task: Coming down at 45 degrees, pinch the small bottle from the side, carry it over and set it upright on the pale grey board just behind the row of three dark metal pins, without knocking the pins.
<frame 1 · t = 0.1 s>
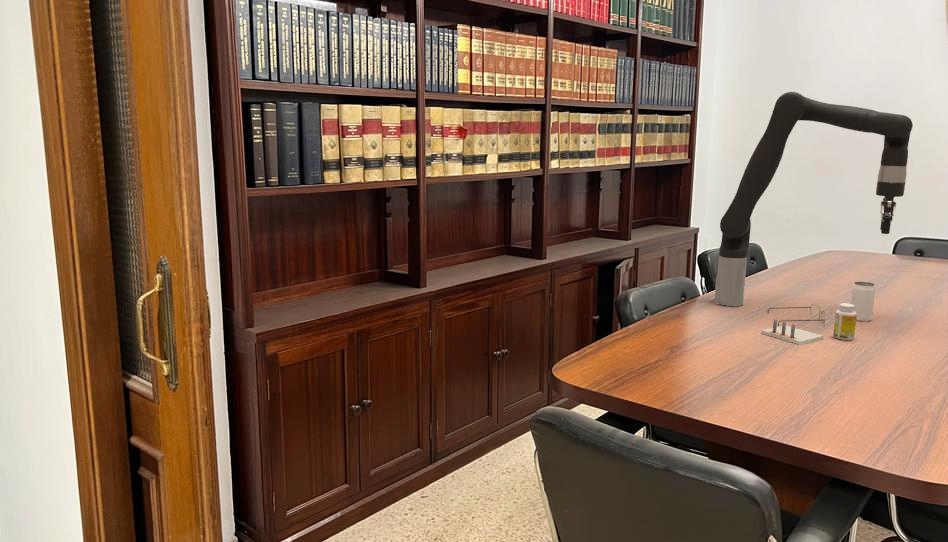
hand: (884, 232, 217), 29 cm above the table, tool pointing down, fingers open, 8 cm apart
can: (860, 319, 225), on the table
eyeglasses: (796, 322, 224), on the table
supplement bottle: (843, 338, 205), on the table
header board: (794, 335, 207), on the table
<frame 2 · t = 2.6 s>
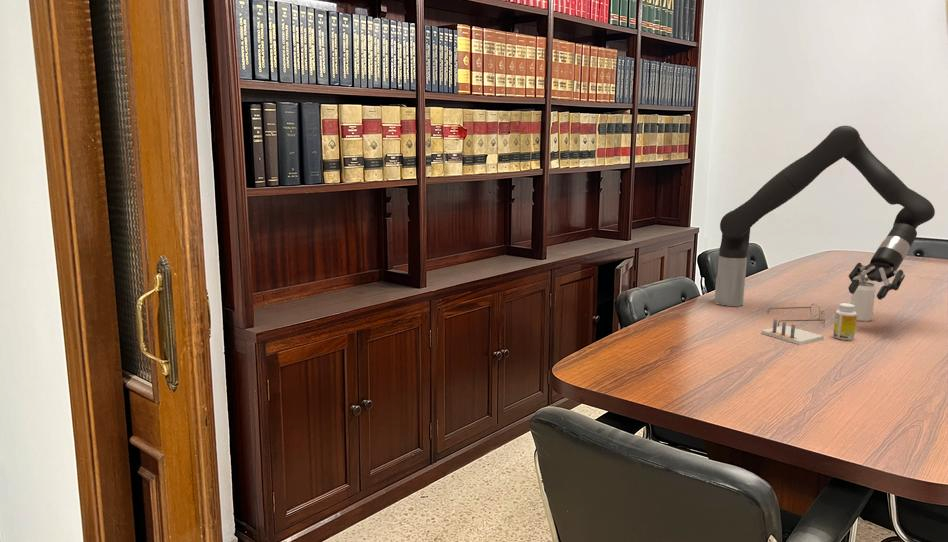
hand: (864, 295, 207), 12 cm above the table, tool tilted 45°, fingers open, 8 cm apart
nothing on the table moved.
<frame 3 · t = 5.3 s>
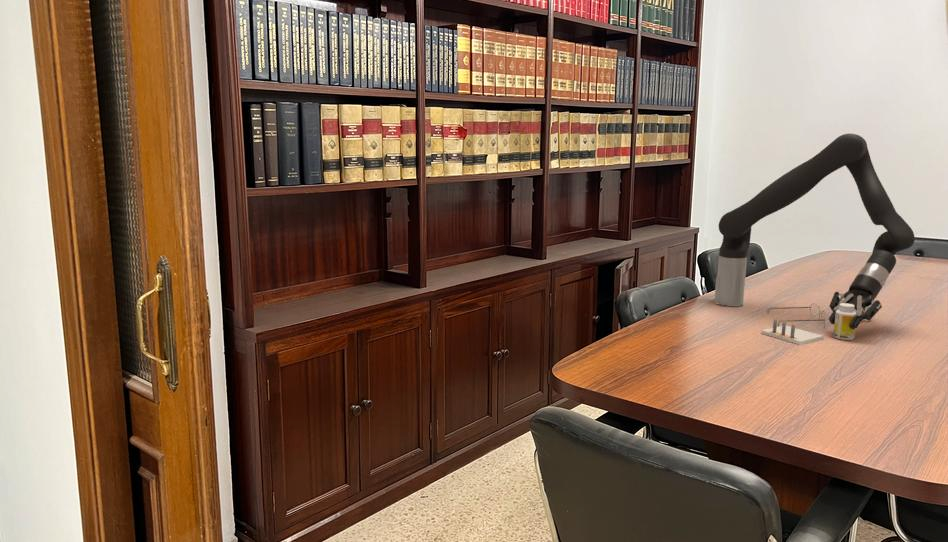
hand: (841, 325, 203), 4 cm above the table, tool tilted 45°, fingers closed on supplement bottle, 5 cm apart
supplement bottle: (843, 338, 205), on the table, touching gripper
everything else where it was.
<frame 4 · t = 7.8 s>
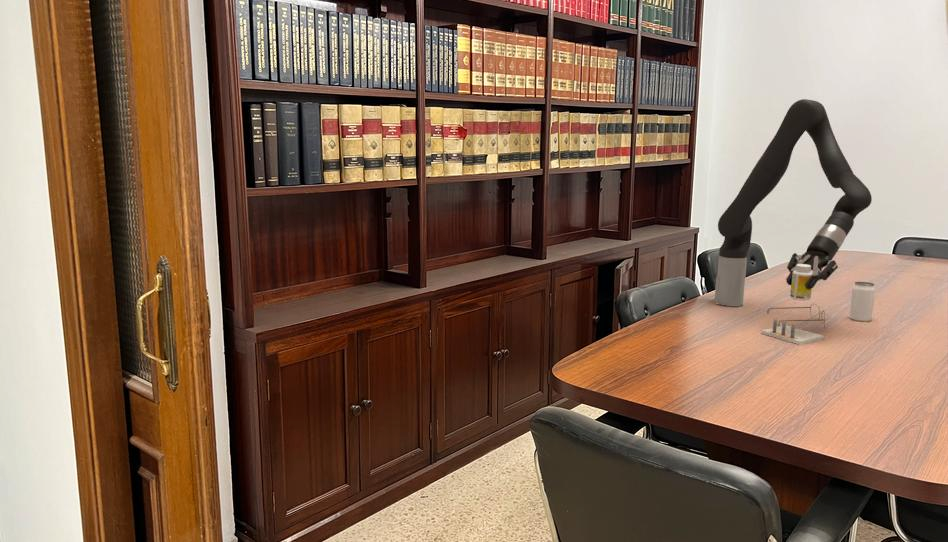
hand: (797, 285, 203), 16 cm above the table, tool tilted 45°, fingers closed on supplement bottle, 5 cm apart
supplement bottle: (800, 299, 205), point 11 cm above the table, touching gripper
everything else where it was.
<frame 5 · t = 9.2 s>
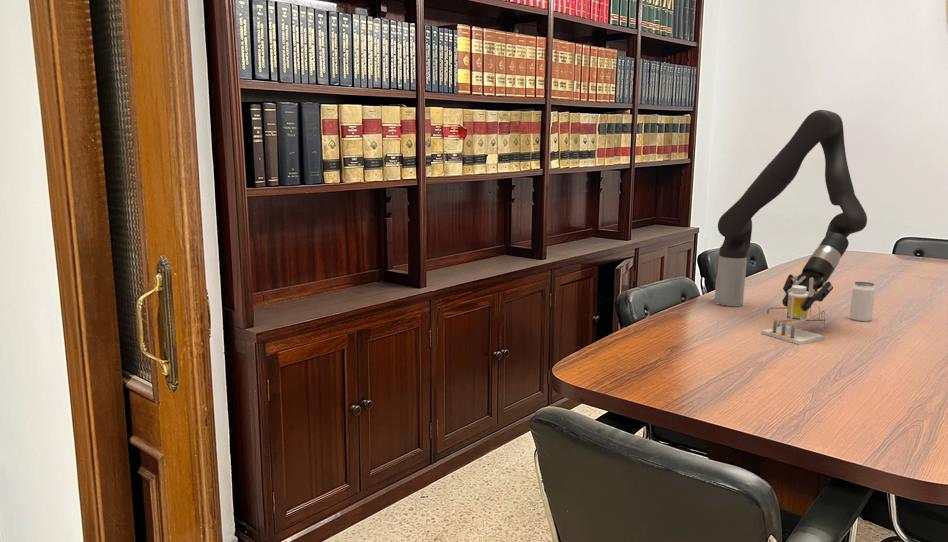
hand: (793, 307, 204), 9 cm above the table, tool tilted 45°, fingers closed on supplement bottle, 5 cm apart
supplement bottle: (796, 320, 206), point 5 cm above the table, touching gripper
everything else where it was.
when the fingers open (6 cm above the table, at t = 10.2 s): supplement bottle drops 1 cm, resting on header board.
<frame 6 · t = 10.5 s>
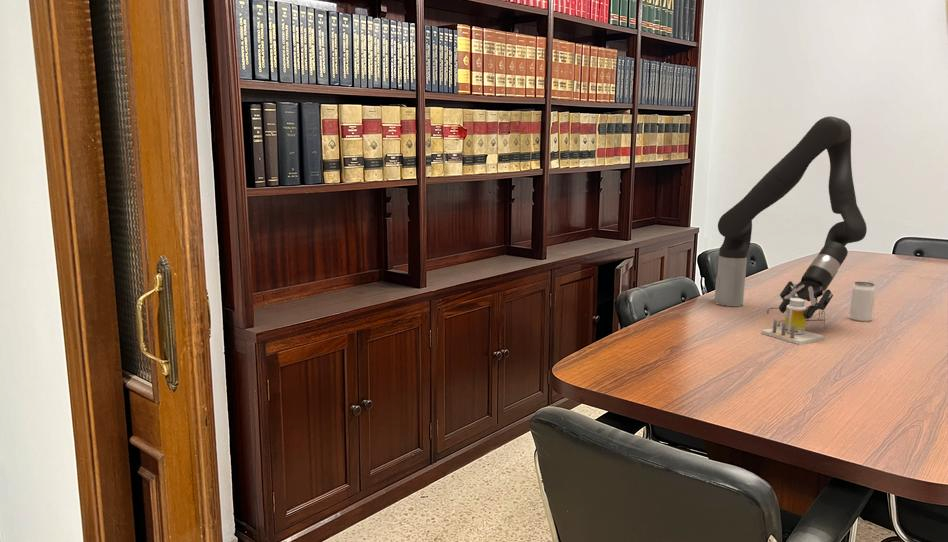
hand: (793, 314, 205), 7 cm above the table, tool tilted 45°, fingers open, 7 cm apart
supplement bottle: (794, 333, 207), point 1 cm above the table, touching header board
everything else where it was.
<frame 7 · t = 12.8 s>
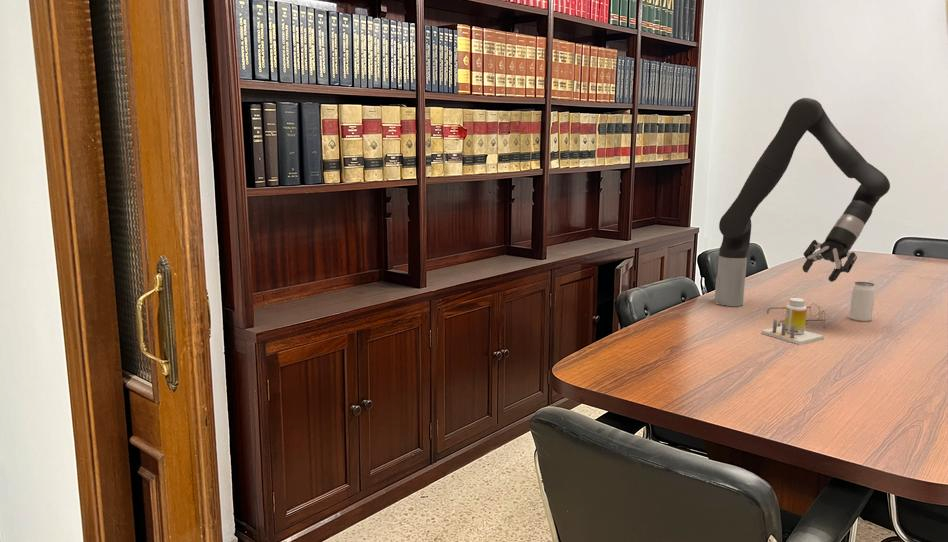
hand: (817, 275, 211), 17 cm above the table, tool tilted 35°, fingers open, 8 cm apart
nothing on the table moved.
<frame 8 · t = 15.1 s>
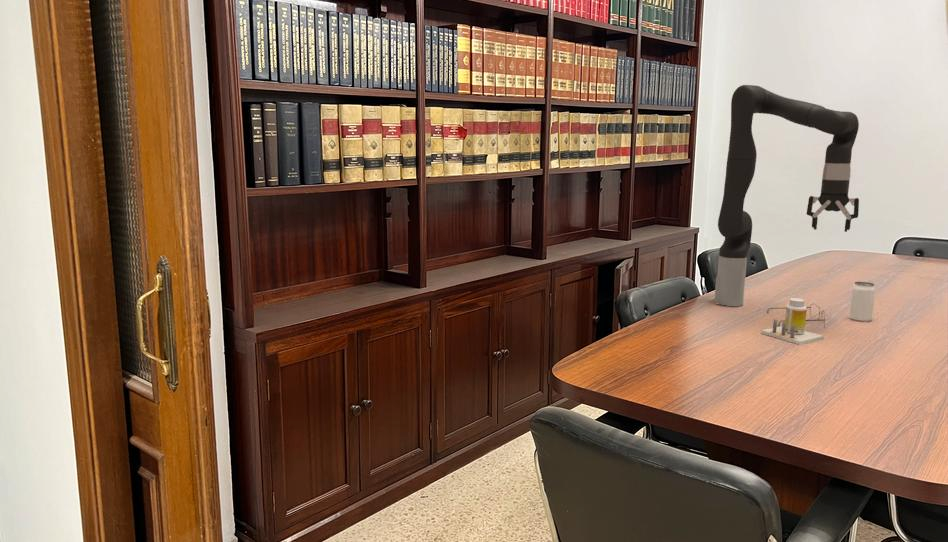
hand: (830, 230, 214), 30 cm above the table, tool pointing down, fingers open, 8 cm apart
nothing on the table moved.
at the end: supplement bottle inside the target area on the header board (0.1 cm from its centre), point 0.8 cm above the header board's base; supplement bottle tilted 0°; the gripper is holding nothing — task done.
